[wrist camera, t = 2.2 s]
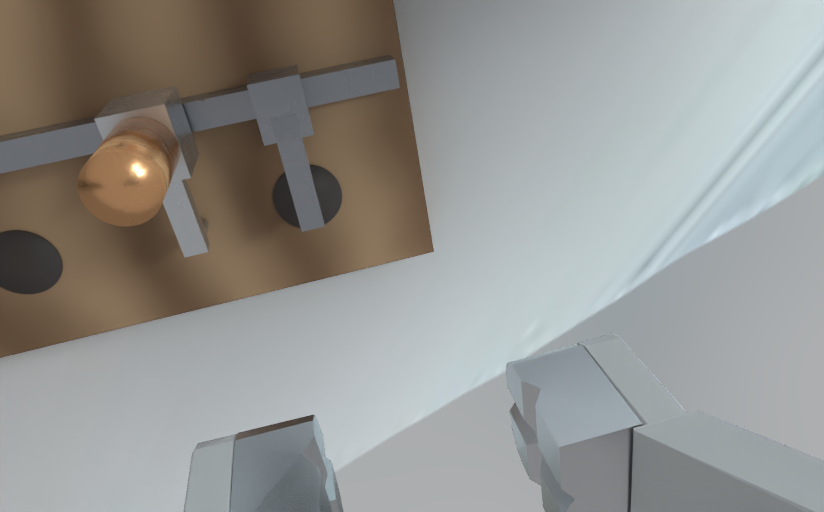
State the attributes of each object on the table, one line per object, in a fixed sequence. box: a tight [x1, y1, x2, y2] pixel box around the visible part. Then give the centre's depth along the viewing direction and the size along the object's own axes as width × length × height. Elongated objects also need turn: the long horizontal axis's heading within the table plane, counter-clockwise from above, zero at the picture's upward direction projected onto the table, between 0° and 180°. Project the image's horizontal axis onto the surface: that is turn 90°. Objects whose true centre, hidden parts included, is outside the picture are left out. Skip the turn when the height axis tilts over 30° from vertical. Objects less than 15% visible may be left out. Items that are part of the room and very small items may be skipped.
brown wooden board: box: [0, 0, 434, 358], centre depth 27 cm, size 25×16×2 cm, turn 99°
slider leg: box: [77, 86, 210, 257], centre depth 23 cm, size 2×7×8 cm, turn 10°
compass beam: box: [0, 54, 400, 232], centre depth 25 cm, size 24×6×3 cm, turn 99°
